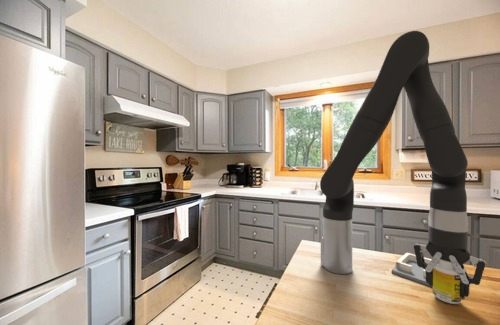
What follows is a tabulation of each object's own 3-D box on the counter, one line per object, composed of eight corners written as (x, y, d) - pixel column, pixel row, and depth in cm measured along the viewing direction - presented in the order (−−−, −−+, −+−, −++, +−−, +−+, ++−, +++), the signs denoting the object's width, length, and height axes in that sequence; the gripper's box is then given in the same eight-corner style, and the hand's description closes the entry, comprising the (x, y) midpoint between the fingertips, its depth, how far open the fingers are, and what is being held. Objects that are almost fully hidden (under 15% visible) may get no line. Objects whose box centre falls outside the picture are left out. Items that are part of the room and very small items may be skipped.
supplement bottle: (457, 308, 52) (458, 266, 52) (429, 296, 57) (429, 257, 57) (464, 300, 55) (464, 260, 55) (436, 289, 60) (436, 252, 60)
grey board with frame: (391, 272, 69) (391, 263, 69) (405, 259, 78) (405, 251, 78) (460, 297, 57) (460, 286, 57) (467, 278, 66) (467, 268, 66)
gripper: (409, 222, 59) (408, 283, 59) (487, 237, 48) (486, 312, 48) (417, 217, 64) (416, 274, 64) (489, 230, 52) (488, 298, 53)
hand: (446, 290), depth 56 cm, fingers closed on supplement bottle, 5 cm apart
